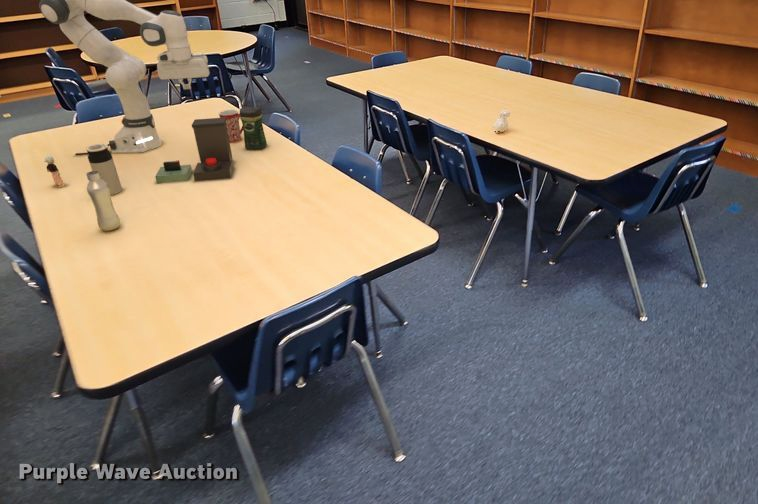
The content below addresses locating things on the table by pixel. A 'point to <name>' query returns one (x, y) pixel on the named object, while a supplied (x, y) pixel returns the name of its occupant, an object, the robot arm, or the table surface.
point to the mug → (232, 124)
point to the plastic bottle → (102, 201)
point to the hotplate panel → (174, 174)
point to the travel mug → (104, 166)
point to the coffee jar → (253, 128)
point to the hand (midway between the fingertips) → (187, 88)
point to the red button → (211, 161)
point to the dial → (172, 165)
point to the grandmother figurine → (54, 171)
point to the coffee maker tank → (212, 139)
